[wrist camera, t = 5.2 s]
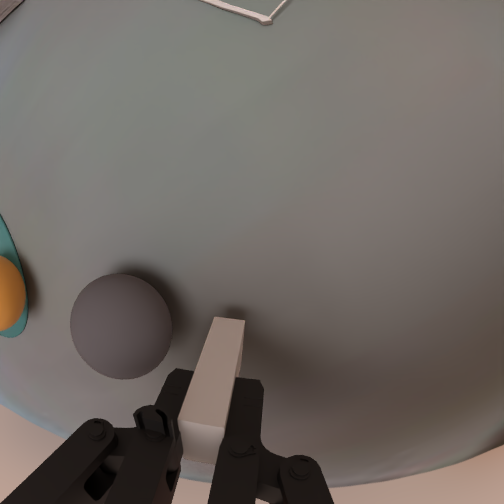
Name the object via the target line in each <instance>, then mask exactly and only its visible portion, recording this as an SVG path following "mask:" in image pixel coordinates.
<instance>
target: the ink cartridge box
mask: <svg viewBox="0 0 504 504" xmlns="http://www.w3.org/2000/svg"><path fill="white" fill-rule="evenodd" d="M22 1H23V0H0V22H1V21H2V20H3V19H4V18H5V17H6V16H7V15H8V14H9V13H10V12H11V11H12V10H13V9H14V8H15V7H16V6H17V5H19V4H20V3H21V2H22Z"/></svg>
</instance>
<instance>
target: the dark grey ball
mask: <svg viewBox="0 0 504 504" xmlns="http://www.w3.org/2000/svg"><path fill="white" fill-rule="evenodd" d="M70 328H71V335H72V339H73V342H74V345H75V347H76V349H77V351H78V353H79V354H80V356H81V357H82V359H83V360H84V361H85V362H86V363H87V364H88V365H89V366H90V367H91V368H93V369H94V370H95V371H97V372H99V373H100V374H102V375H105V376H107V377H110V378H115V379H134V378H138V377H141V376H143V375H146V374H147V373H149V372H151V371H152V370H153V369H155V368H156V367H157V366H158V365H159V364H160V363H161V361H162V360H163V359H164V357H165V356H166V354H167V352H168V350H169V347H170V343H171V339H172V320H171V316H170V312H169V309H168V307H167V305H166V303H165V301H164V299H163V298H162V296H161V295H160V294H159V293H158V292H157V290H155V289H154V288H153V287H152V286H151V285H150V284H148V283H147V282H145V281H143V280H142V279H140V278H137V277H134V276H131V275H126V274H110V275H106V276H102V277H100V278H98V279H96V280H94V281H92V282H91V283H89V284H88V285H87V286H86V287H85V288H84V289H83V290H82V291H81V293H80V294H79V295H78V297H77V299H76V301H75V303H74V306H73V309H72V312H71V319H70Z"/></svg>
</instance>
